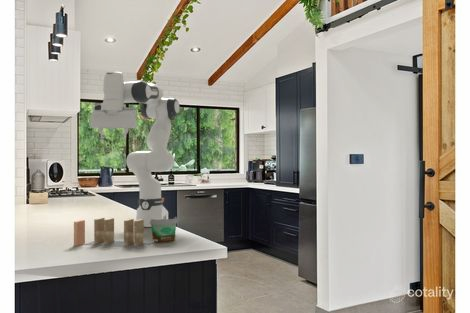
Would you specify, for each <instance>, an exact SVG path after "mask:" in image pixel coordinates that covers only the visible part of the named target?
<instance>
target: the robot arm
mask: <svg viewBox="0 0 470 313" xmlns="http://www.w3.org/2000/svg"><path fill="white" fill-rule="evenodd" d="M102 89H103V90H102V91H103V99H102V100H103V101H102V102H101V103H98V104H95V105H93V106H92V110H91V111H92V112H91V113H90V116H89V117H90V119H89V126H90V127H91V128H92V129H97V130H98V133H99V134H100V139H103V140H104V139H106V134H104V133H103V131H104V129H123V131H124V133H123V134H121V139H123V140H125V139H127V134H128V133H129V129H136V128H137V126H138V125H137V118H136V117H137V109H136V108H135V107H132V106H131V107H125V104H130V103H132V104H134V103H135V104H136V103H139V104H140V114H141V116H142V117H143V118H145V119H155V121H154V122H153V124H152V126H151V128H150V131H149V133H148V135H147V138H146V146H147V148H148V149H149V150H138V151H133V152H130V153H128V155H127V156H126V160H125V161H126V166H127V168H128V169H129V170H130V171H131V173H133V175H135V177H136V179H137V182H138V187H139V189H138V190H139V198H138V208H136V218H135V221H136V220H139V219H144V228H152V226H151V224H150V221H151V219H154V220H161V219H169V211H168V209H167V208H166V207H165V206H164V205H163V204H164V202H165V197H162V184H161V182H160V181H159V180H158V179H156V178H154V176H153V175H152V172H155V173H162V172H167V171H168V172H169V171H171V170H172V169H173V167H174V166H175V157H174V155H173V154H172V152H170V151H169V149H168V147H167V146H168V142H169V139H170V137H171V136H170V135H171V132H172V122H173V121H174V120H175V119H176V117H178V115H179V113H180V103H179V101H178V99H176V98H173V97H169V98H166V97H164V91H163V88H161V86H159V85H158V84H156V83H153V82H147V81H145V80H138V81H125V79H124V75H123V73H122V72H121V71H108V72H106V73H105V75H104V77H103V87H102ZM171 121H172V122H171Z"/></svg>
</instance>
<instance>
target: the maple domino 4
mask: <svg viewBox="0 0 470 313" xmlns="http://www.w3.org/2000/svg"><path fill="white" fill-rule="evenodd" d="M144 228H145V227H144V219H139V220H136V219H135V220H134V246H140V245H142V244H144V242H145V241H144V240H145V238H144V237H145V236H144V235H145V234H144V232H145V231H144Z"/></svg>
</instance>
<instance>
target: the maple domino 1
mask: <svg viewBox="0 0 470 313" xmlns="http://www.w3.org/2000/svg"><path fill="white" fill-rule="evenodd" d="M104 220H105V217H99V218H95V219H93V227H94V228H93V234H94V235H93V237H94V238H93V239H94V244H99V243H102V242H104Z"/></svg>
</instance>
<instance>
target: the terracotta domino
mask: <svg viewBox="0 0 470 313" xmlns="http://www.w3.org/2000/svg"><path fill="white" fill-rule="evenodd" d="M84 244H86V220H85V219H80V220H76V221H73V246H74V247H78V246H81V245H84Z"/></svg>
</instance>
